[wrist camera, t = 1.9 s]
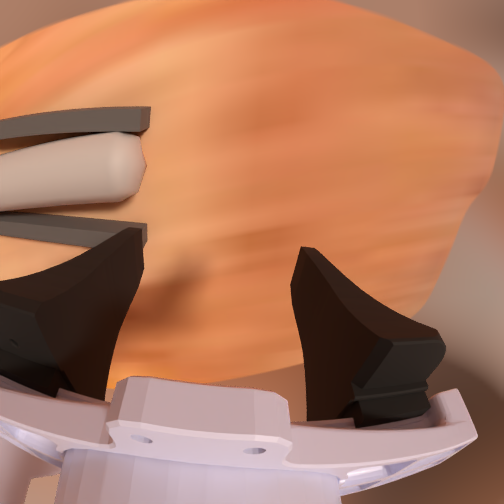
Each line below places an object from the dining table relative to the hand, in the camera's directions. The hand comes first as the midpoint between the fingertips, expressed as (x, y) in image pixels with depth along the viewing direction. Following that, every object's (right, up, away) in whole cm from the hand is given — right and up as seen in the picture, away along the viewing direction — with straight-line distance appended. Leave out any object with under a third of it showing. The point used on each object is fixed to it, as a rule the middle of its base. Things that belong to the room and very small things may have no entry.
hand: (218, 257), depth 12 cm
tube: (-18, +7, +6) cm, 21 cm away
